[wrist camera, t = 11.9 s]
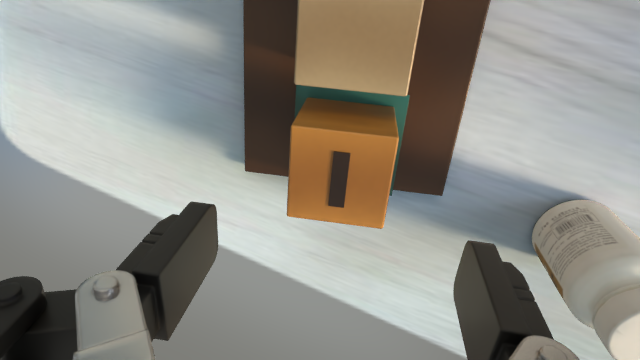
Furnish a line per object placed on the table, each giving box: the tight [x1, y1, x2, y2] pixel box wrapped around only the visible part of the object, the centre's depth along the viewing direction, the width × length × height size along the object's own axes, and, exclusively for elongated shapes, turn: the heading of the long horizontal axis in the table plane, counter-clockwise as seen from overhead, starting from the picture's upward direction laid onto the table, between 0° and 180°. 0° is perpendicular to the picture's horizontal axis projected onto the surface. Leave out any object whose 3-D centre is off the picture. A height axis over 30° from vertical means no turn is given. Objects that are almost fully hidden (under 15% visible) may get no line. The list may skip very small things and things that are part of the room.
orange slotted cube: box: [287, 98, 399, 229], centre depth 19 cm, size 4×4×4 cm
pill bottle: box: [532, 200, 640, 360], centre depth 19 cm, size 4×4×8 cm
